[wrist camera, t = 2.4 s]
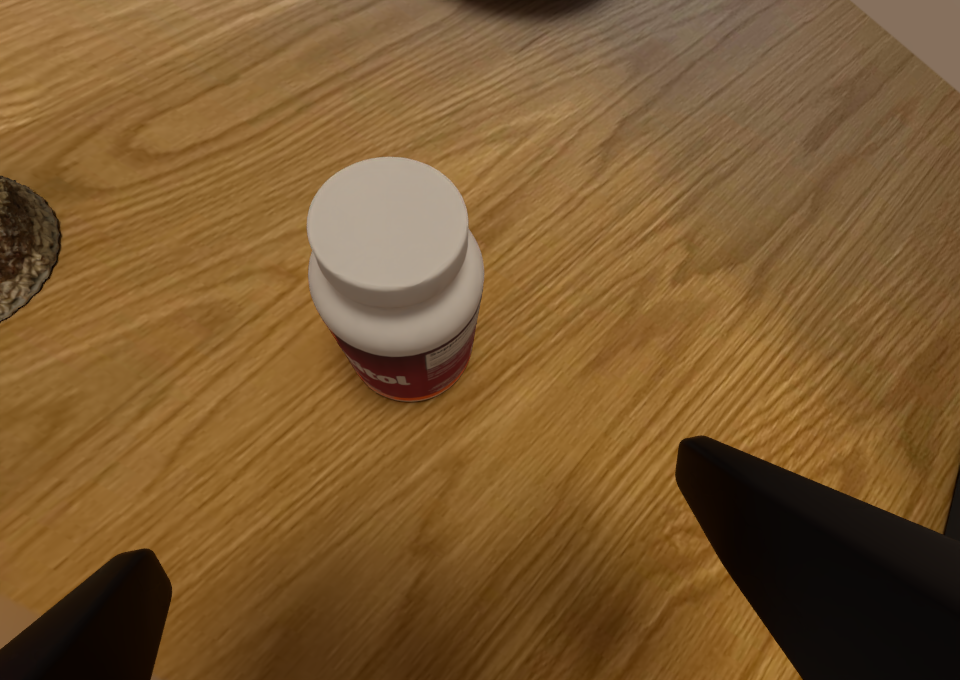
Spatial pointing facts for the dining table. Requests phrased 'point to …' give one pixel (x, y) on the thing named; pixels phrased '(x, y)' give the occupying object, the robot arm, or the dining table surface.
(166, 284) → the dining table surface
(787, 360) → the dining table surface
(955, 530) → the dish
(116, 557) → the robot arm
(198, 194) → the dining table surface
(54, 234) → the cake
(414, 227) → the pill bottle
